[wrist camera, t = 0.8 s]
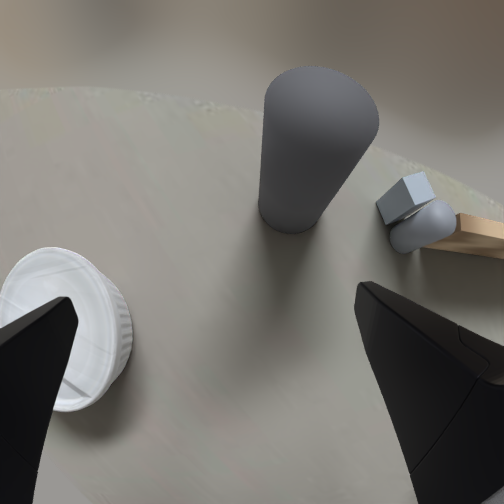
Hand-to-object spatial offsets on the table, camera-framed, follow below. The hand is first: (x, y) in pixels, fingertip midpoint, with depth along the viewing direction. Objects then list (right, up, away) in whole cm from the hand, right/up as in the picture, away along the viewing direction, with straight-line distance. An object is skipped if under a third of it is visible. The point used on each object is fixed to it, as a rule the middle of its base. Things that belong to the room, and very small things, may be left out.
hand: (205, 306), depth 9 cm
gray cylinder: (+4, +5, +14) cm, 16 cm away
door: (+22, +2, +13) cm, 26 cm away
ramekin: (-12, -5, +13) cm, 18 cm away
